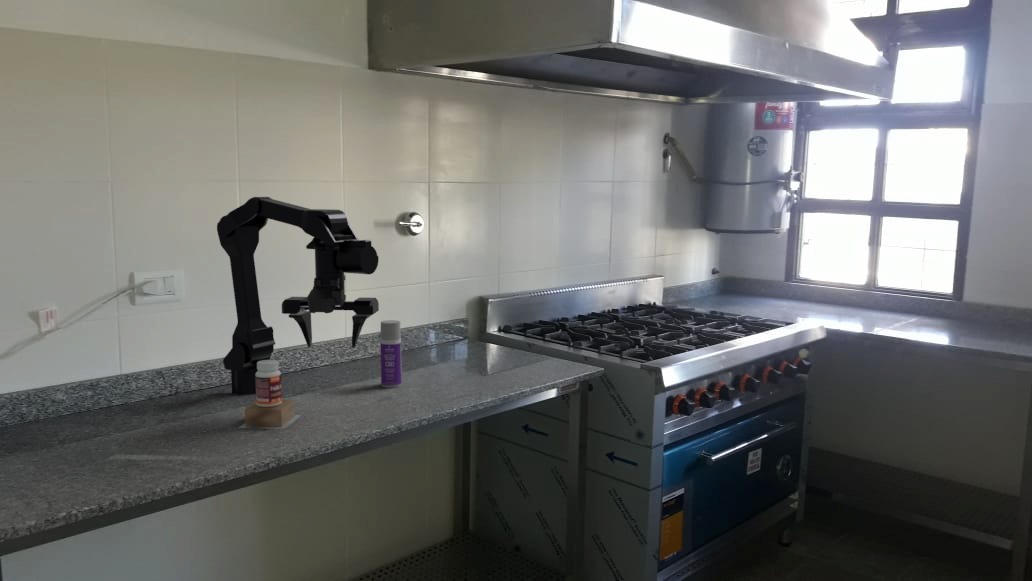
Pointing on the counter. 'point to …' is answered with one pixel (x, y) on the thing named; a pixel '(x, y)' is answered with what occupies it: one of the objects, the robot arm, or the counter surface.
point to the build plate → (273, 427)
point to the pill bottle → (268, 383)
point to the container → (390, 354)
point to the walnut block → (269, 414)
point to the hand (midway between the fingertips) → (331, 347)
